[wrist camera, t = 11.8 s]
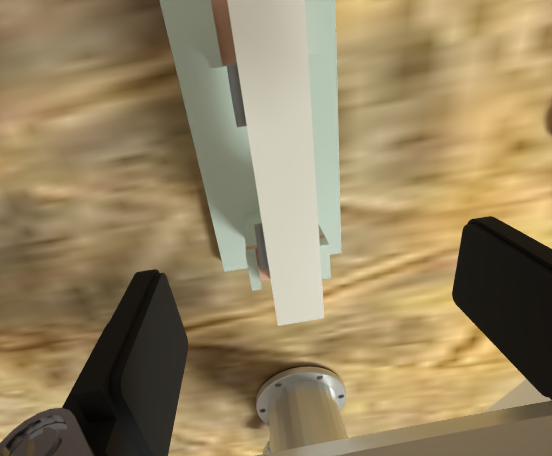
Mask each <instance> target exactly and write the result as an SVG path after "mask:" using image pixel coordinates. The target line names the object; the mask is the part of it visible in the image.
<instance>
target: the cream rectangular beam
mask: <svg viewBox="0 0 552 456" xmlns="http://www.w3.org/2000/svg"><path fill="white" fill-rule="evenodd" d="M227 2H228V9H229V15H230V21H231V28H232V34H233V41H234V47H235V53H236V60H237V62H233V63H227V72H228V79H229V85H230V92H231V98H232V103H233V109H234V114H235V120H236V124H237V127H244V126H247V130H248V137H249V143H250V150H251V156H252V162H253V169H254V175H255V182H256V188H257V194H258V201H259V207H260V214H261V220H262V223H259V224H254V227H255V235H256V242H257V249H258V255H259V261H260V267H261V271H262V270H268V269H269V271H270V278H271V284H272V291H273V297H274V303H275V310H276V316H277V323H278V326H280V325H286V324H291V323H297V322H303V321H309V320H315V319H321V318H324V308H323V292H322V275H321V259H320V242H319V226H318V209H317V193H316V176H315V160H314V143H313V127H312V110H311V93H310V77H309V60H308V44H307V27H306V11H305V0H227Z"/></svg>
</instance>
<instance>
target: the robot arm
mask: <svg viewBox="0 0 552 456" xmlns="http://www.w3.org/2000/svg"><path fill="white" fill-rule="evenodd" d="M452 296H453V300H454V302H455V304H456V305H457V306H458V307H459V308H460V309H461V310H462V311H463V312H464V313H465V314H466V315H467V316H468V317H469V319H470V320H471V321H472V322H473V323H474V324H475V325H476V326H477V327H478V328H479V329H480V330H481V331H482V332H483V333H484V334H485V335H486V336H487V337H488V339H489V340H490V341H491V342H492V343H493V344H494V345H495V346H496V347H497V348H498V349H499V350H500V351H501V352H502V353H503V354H504V355H505V356H506V357H507V359H508V360H509V361H510V362H511V363H512V364H513V365H514V366H515V367H516V368H517V369H518V370H519V371H520V372H521V373H522V374H523V375H524V376H525V378H526V379H527V380H528V381H529V382H530V383H531V384H532V385H533V386H534V387H535V388H536V389H537V390H538V391H539V392H540V393H541V394H542V395H544V396H546V397H549V398H550V399H551V400H552V249H551V248H549V247H547V246H545V245H543V244H542V243H540V242H538V241H536V240H534V239H533V238H531V237H529V236H527V235H525V234H523V233H522V232H520V231H518V230H516V229H514V228H513V227H511V226H509V225H507V224H505V223H504V222H502V221H500V220H498V219H496V218H495V217H492V216H490V217H483V218H476V219H471V220H470V221H469V222H468V224H467V225H465V226H464V228H463V232H462V238H461V244H460V250H459V256H458V262H457V268H456V273H455V279H454V285H453V291H452ZM187 352H188V339H187V336H186V333H185V330H184V327H183V324H182V321H181V318H180V315H179V312H178V309H177V306H176V303H175V300H174V297H173V294H172V291H171V289H170V286H169V283H168V280H167V277H166V275H165V273H159V271H158V270H156V269H154V270H148V271H142V272H137V273H136V274H135V275H134V277H133V279H132V281H131V283H130V284H129V286H128V288H127V290H126V292H125V294H124V296H123V298H122V300H121V301H120V303H119V305H118V307H117V309H116V311H115V313H114V315H113V316H112V318H111V320H110V322H109V323H108V324H107V325H106V327H105V329H104V331H103V332H102V334H101V336H100V338H99V340H98V342H97V344H96V345H95V347H94V349H93V351H92V353H91V355H90V357H89V359H88V360H87V362H86V364H85V366H84V368H83V370H82V372H81V373H80V375H79V377H78V379H77V381H76V383H75V385H74V386H73V388H72V390H71V392H70V394H69V396H68V398H67V400H66V401H65V403H64V405H63V407H62V408H54V409H49V410H46V411H43V412H40V413H38V414H36V415H34V416H33V417H31V418H29V419H27V420H26V421H24V422H23V423H22V424H20V425H19V426H18V427H16V428H15V429H14V430H13V431H12V432H11V433H10V434H9V435H8V436H7V437H6V438H5V439H4V440H3V441H2V442H1V443H0V456H168V452H169V447H170V441H171V436H172V431H173V426H174V420H175V415H176V410H177V405H178V399H179V394H180V389H181V383H182V378H183V373H184V368H185V362H186V357H187ZM345 401H346V390H345V387H344V384H343V382H342V380H341V379H340V378H339V376H337V375H336V374H335V373H333V372H331V371H329V370H327V369H323V368H319V367H311V366H309V367H297V368H292V369H289V370H286V371H283V372H281V373H279V374H276V375H275V376H273V377H272V378H270V379H269V380H268V381H267V382H266V383H264V384H263V386H262V387H261V388H260V390H259V392H258V394H257V398H256V410H257V413H258V415H259V417H260V418H261V420H263V421H264V422H265V423H266V424H268V425H269V429H270V441H269V442H268V443H267V445H266V446H265V448H264V450H263V454H262V455H257V456H552V401H548V402H542V403H536V404H530V405H525V406H519V407H514V408H508V409H502V410H497V411H491V412H486V413H481V414H475V415H470V416H464V417H459V418H453V419H448V420H442V421H437V422H432V423H426V424H421V425H415V426H410V427H405V428H399V429H394V430H388V431H383V432H378V433H372V434H367V435H362V436H356V437H351V438H348V436H347V433H346V429H345V426H344V423H343V419H342V416H341V412H340V410H341V409H342V407H343V406H344V403H345Z"/></svg>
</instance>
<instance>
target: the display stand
mask: <svg viewBox="0 0 552 456" xmlns="http://www.w3.org/2000/svg"><path fill="white" fill-rule="evenodd" d="M159 1H160V5H161V9H162V13H163V17H164V21H165V26H166V30H167V34H168V38H169V42H170V46H171V51H172V55H173V59H174V63H175V67H176V71H177V76H178V80H179V84H180V88H181V92H182V97H183V101H184V105H185V109H186V113H187V117H188V122H189V126H190V130H191V134H192V138H193V142H194V147H195V151H196V155H197V159H198V163H199V167H200V172H201V176H202V180H203V184H204V188H205V193H206V197H207V201H208V205H209V209H210V213H211V218H212V222H213V226H214V230H215V234H216V238H217V243H218V247H219V251H220V255H221V259H222V263H223V268H224V272H226V271H232V270H238V269H244V268H248V271H249V276H250V281H251V286H252V291H254V290H260V289H262V288H261V281H265V280H271V278H270V271H269V269H268V270H262V271H261V267H260V261H259V255H258V249H257V242H256V235H255V227H254V224H259V223H262V220H261V214H260V207H259V201H258V194H257V188H256V182H255V175H254V169H253V162H252V156H251V150H250V143H249V137H248V130H247V126H244V127H237V124H236V120H235V114H234V109H233V103H232V98H231V92H230V85H229V79H228V72H227V63H233V62H237V60H236V53H235V47H234V41H233V34H232V28H231V21H230V15H229V9H228V2H227V0H159ZM305 11H306V27H307V44H308V60H309V77H310V93H311V110H312V127H313V143H314V160H315V176H316V193H317V209H318V226H319V242H320V259H321V275H322V279H327V278H331V275H330V255H332V254H338V253H341V224H340V181H339V138H338V94H337V51H336V8H335V0H305Z"/></svg>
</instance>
